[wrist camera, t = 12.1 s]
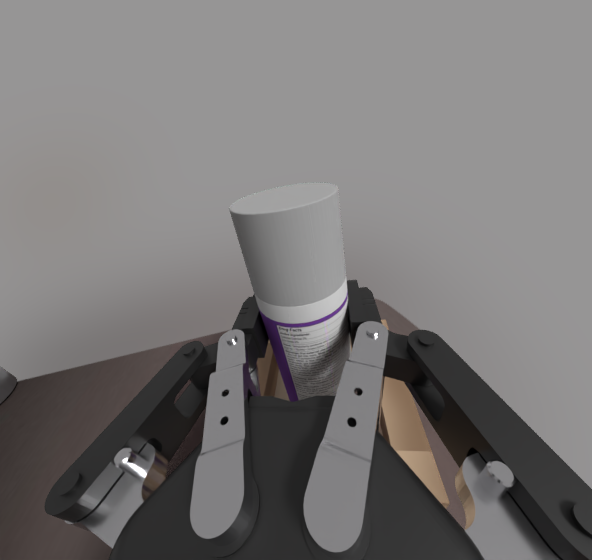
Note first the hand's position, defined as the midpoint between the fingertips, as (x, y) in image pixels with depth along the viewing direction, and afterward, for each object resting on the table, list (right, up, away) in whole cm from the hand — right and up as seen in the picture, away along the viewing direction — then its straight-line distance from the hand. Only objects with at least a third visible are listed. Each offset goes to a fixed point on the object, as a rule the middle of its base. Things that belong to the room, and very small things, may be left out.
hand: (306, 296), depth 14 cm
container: (+1, -8, +3) cm, 9 cm away
